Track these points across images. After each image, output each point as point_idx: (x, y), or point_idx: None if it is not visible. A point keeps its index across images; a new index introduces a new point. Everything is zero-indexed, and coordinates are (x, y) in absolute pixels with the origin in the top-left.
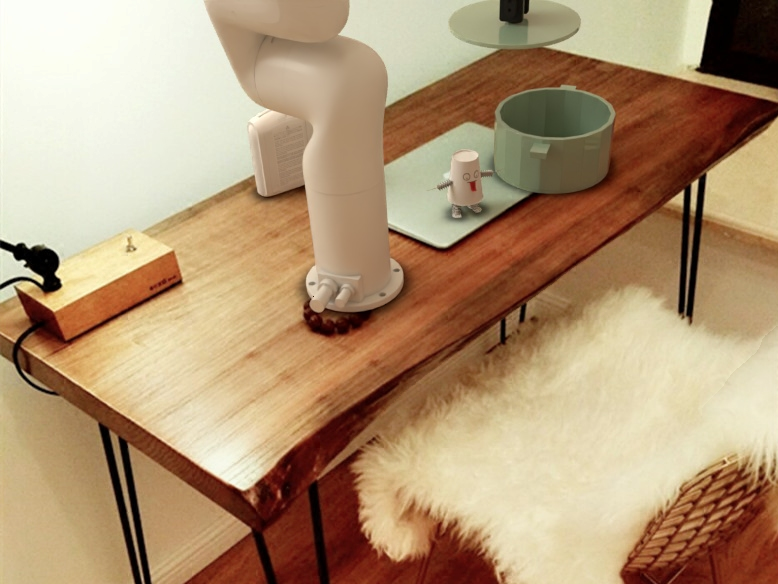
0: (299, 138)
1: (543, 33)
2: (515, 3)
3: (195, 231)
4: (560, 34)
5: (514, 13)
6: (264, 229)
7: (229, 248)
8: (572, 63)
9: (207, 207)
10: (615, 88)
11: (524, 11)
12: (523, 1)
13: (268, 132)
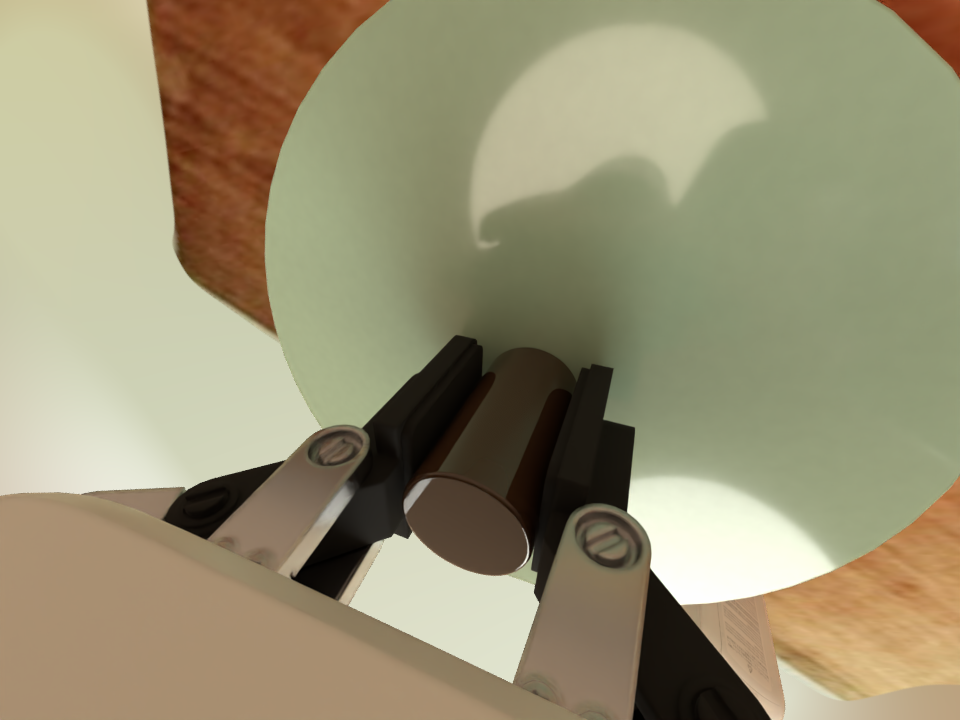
0: (730, 625)
1: (768, 214)
2: (629, 479)
3: (863, 662)
4: (823, 59)
5: (633, 438)
6: (877, 597)
7: (943, 639)
8: (192, 157)
9: (780, 643)
10: (236, 28)
11: (478, 357)
12: (580, 430)
13: (776, 695)
